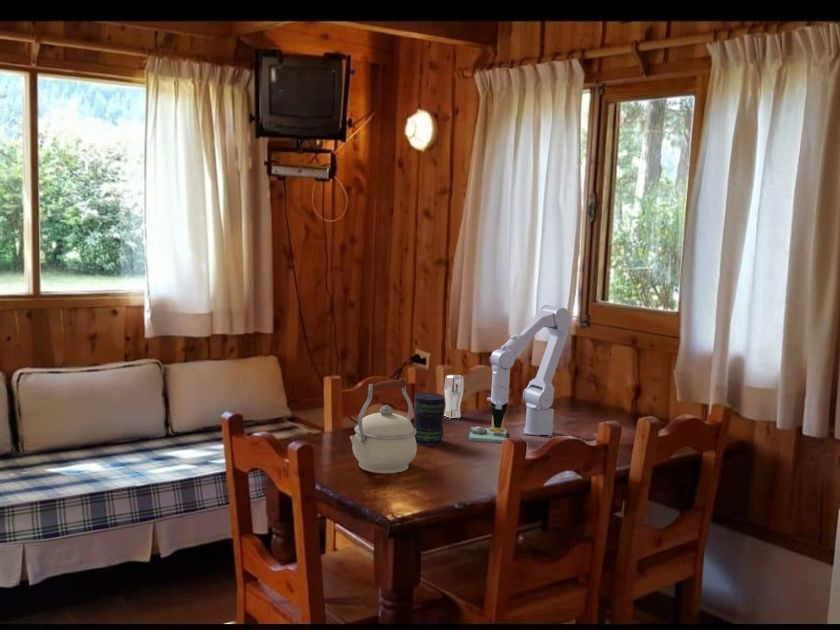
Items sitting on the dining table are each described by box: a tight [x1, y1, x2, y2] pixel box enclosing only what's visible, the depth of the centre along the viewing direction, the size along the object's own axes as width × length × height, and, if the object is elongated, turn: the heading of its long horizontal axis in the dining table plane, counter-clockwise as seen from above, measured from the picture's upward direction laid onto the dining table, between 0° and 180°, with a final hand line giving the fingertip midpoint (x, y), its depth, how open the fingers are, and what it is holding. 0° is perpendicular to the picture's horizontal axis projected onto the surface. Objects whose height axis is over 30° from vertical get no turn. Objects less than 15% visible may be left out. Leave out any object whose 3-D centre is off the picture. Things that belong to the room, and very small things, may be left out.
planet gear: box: [488, 414, 506, 433], centre depth 275 cm, size 5×5×5 cm
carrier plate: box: [468, 426, 507, 443], centre depth 276 cm, size 12×14×4 cm
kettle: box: [349, 377, 418, 475], centre depth 234 cm, size 25×18×25 cm
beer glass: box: [443, 374, 465, 419], centre depth 301 cm, size 7×7×15 cm
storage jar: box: [412, 392, 446, 447], centre depth 265 cm, size 10×10×15 cm
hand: (497, 425), depth 275 cm, fingers closed on planet gear, 4 cm apart
